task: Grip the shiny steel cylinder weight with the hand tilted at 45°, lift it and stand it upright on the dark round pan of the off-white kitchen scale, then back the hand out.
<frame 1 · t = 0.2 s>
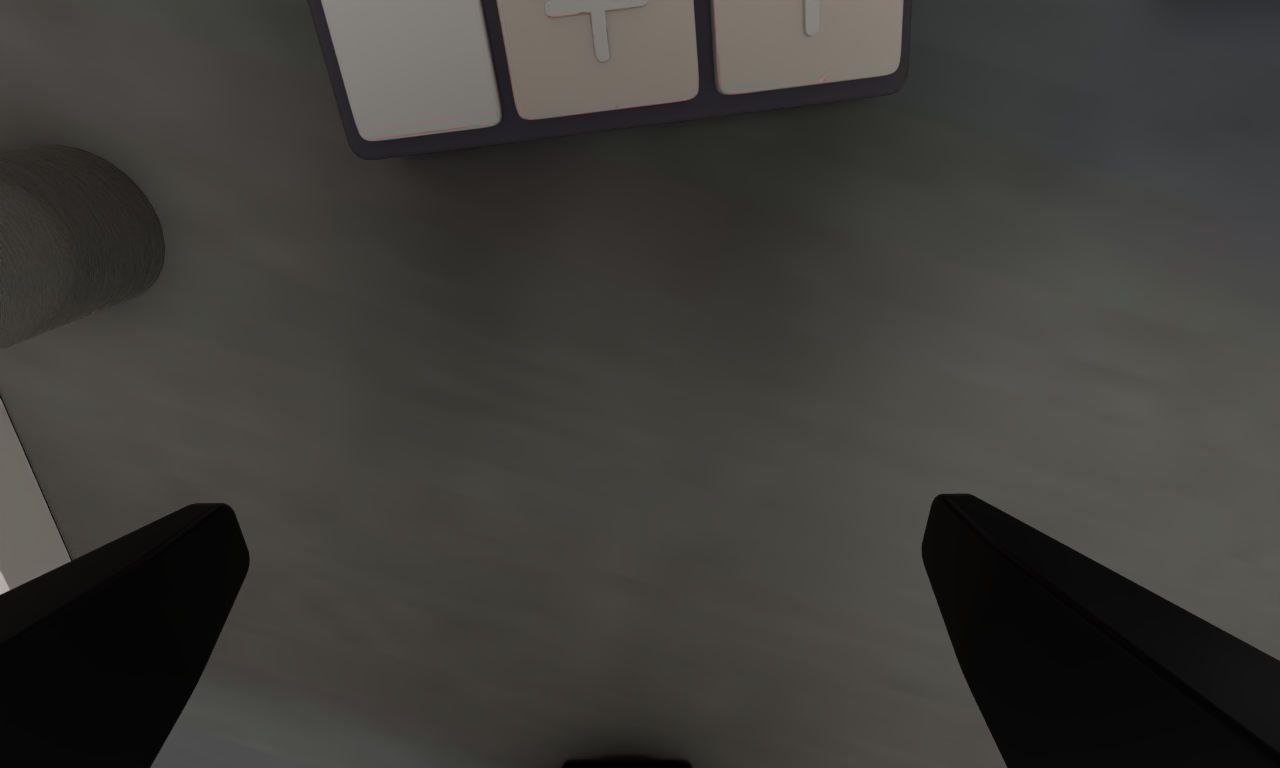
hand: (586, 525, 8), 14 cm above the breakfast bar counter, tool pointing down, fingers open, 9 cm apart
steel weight: (83, 227, 21), on the breakfast bar counter
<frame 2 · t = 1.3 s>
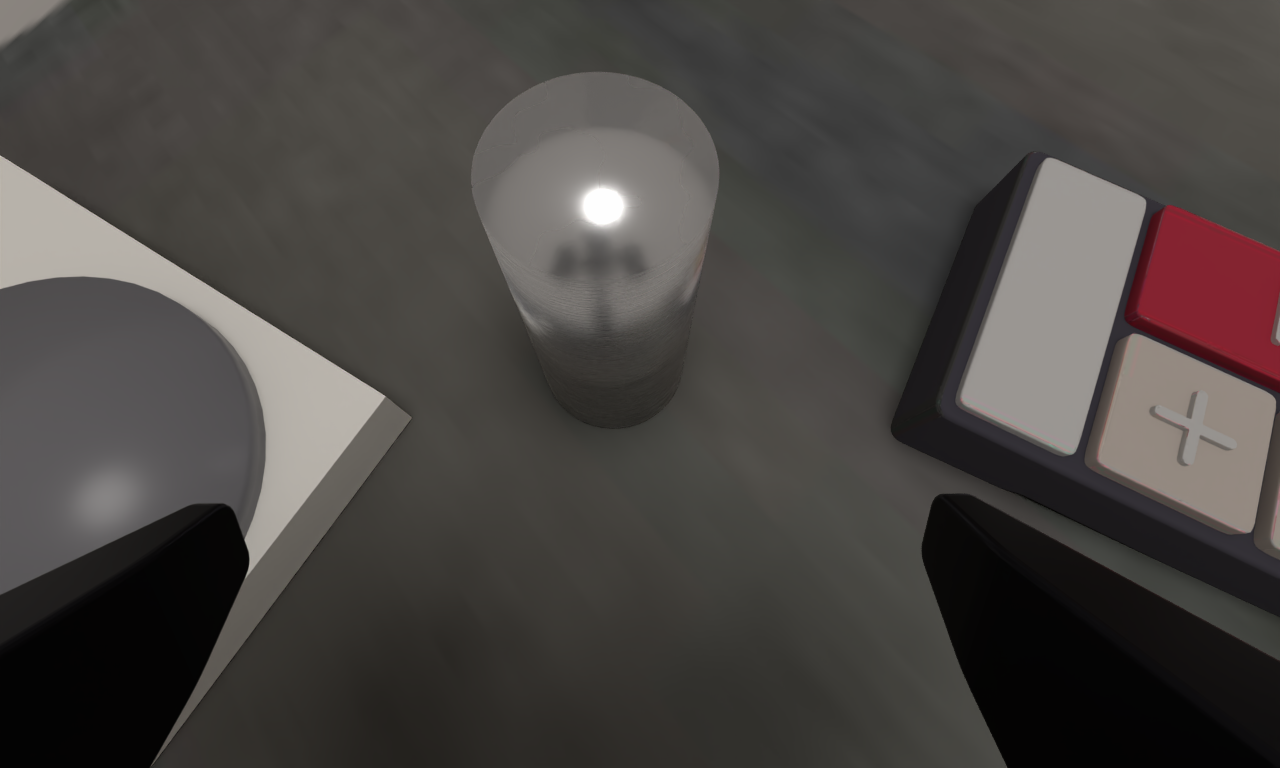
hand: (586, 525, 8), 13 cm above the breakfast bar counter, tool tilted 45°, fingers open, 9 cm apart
calculator: (1123, 400, 24), on the breakfast bar counter
kitchen scale: (111, 496, 22), on the breakfast bar counter
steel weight: (614, 362, 23), on the breakfast bar counter
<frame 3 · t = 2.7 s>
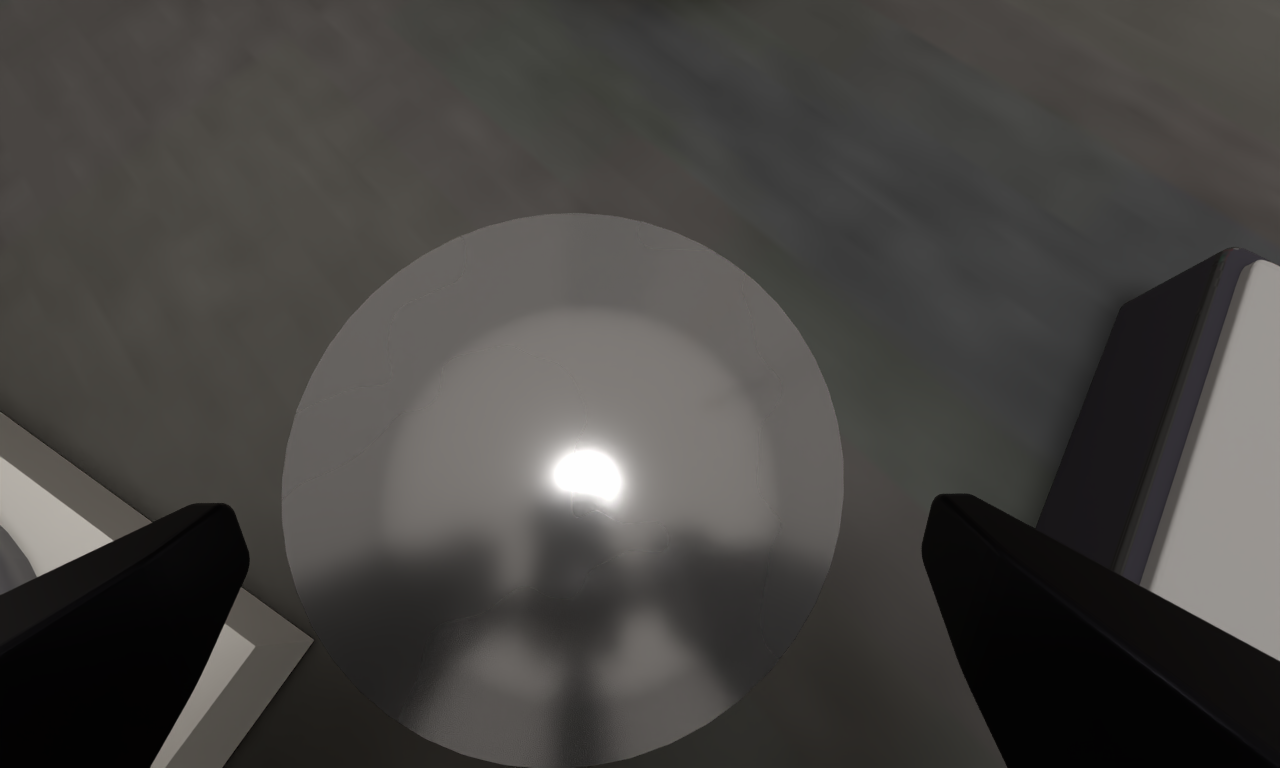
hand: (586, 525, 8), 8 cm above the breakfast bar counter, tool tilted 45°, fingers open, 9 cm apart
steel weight: (610, 550, 16), on the breakfast bar counter
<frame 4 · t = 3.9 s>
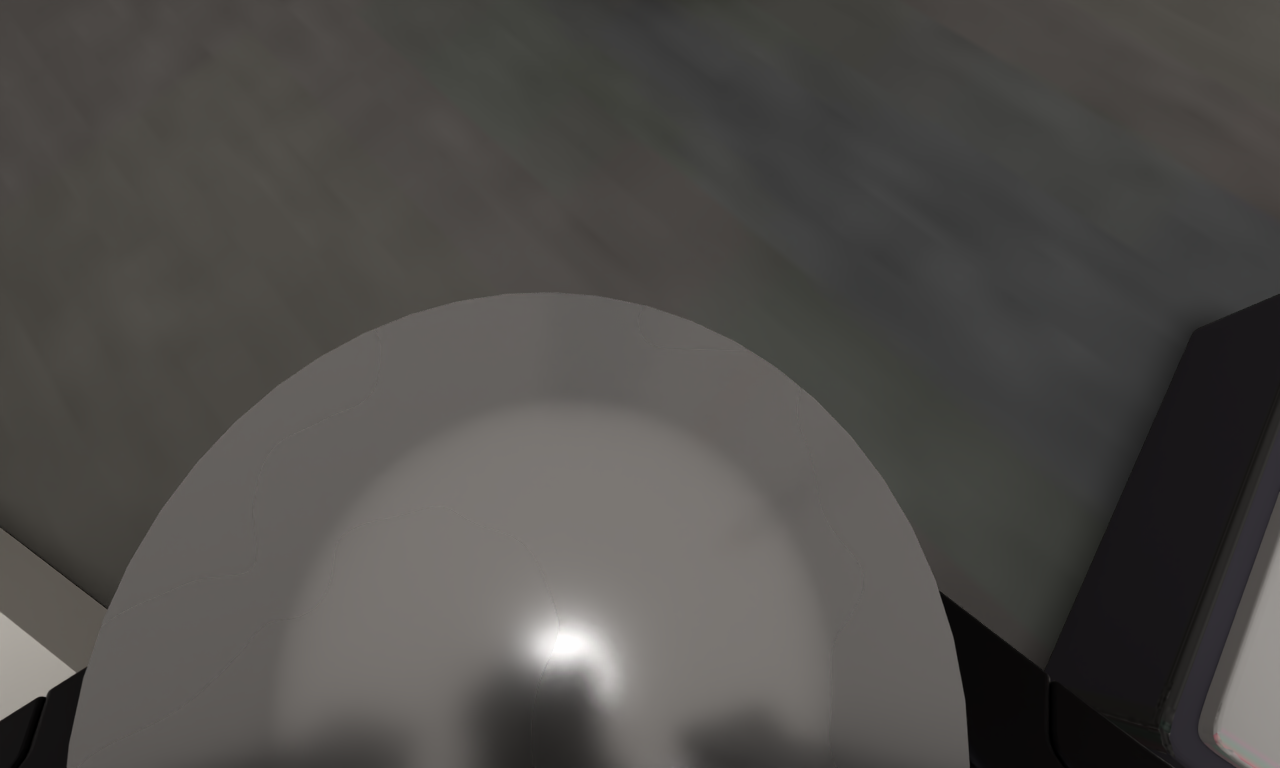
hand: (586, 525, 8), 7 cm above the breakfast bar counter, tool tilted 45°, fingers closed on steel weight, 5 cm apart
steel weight: (607, 622, 14), on the breakfast bar counter, touching gripper
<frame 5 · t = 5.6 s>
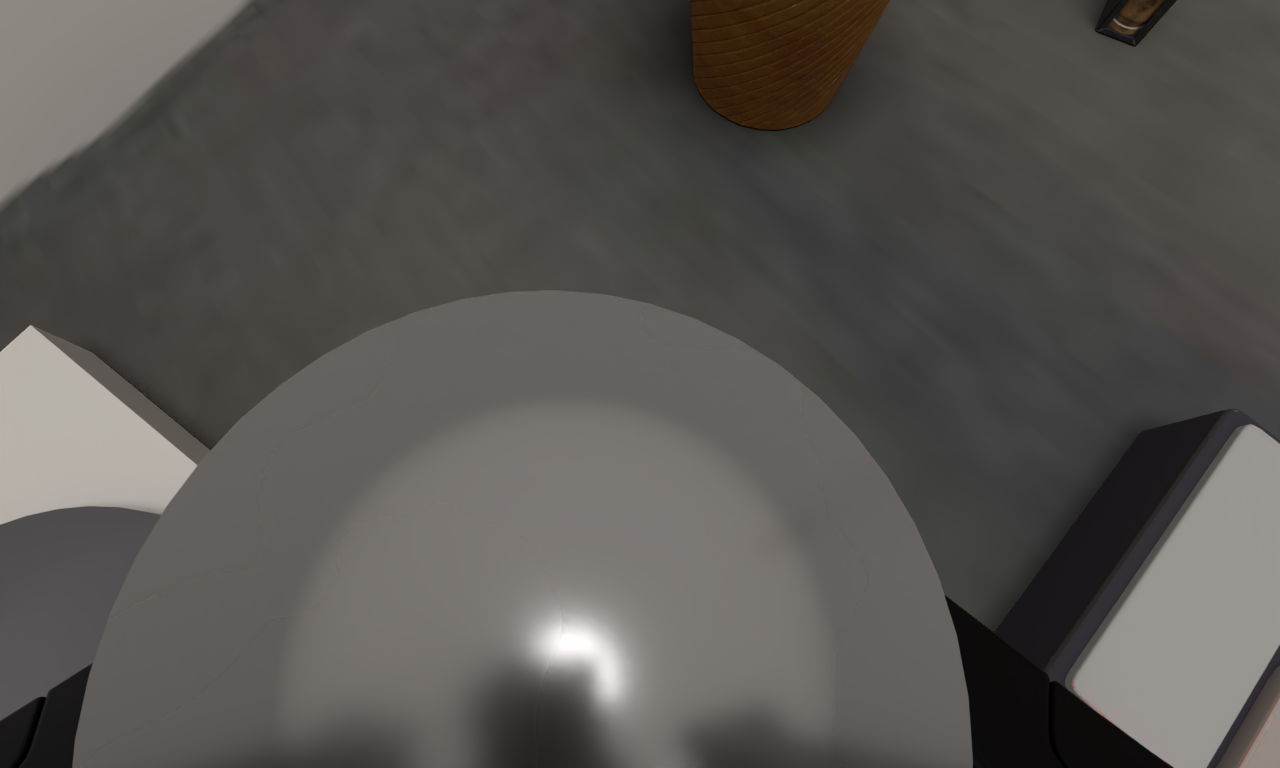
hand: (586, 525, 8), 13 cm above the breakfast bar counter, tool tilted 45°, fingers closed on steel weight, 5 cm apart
calculator: (1255, 708, 20), on the breakfast bar counter
kitchen scale: (131, 737, 19), on the breakfast bar counter
disposable coffee cup: (764, 75, 28), on the breakfast bar counter
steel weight: (608, 622, 14), point 7 cm above the breakfast bar counter, touching gripper
when the fingers open (11 cm above the breakfast bar counter, at t = 7.5 s): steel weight drops 1 cm, resting on kitchen scale.
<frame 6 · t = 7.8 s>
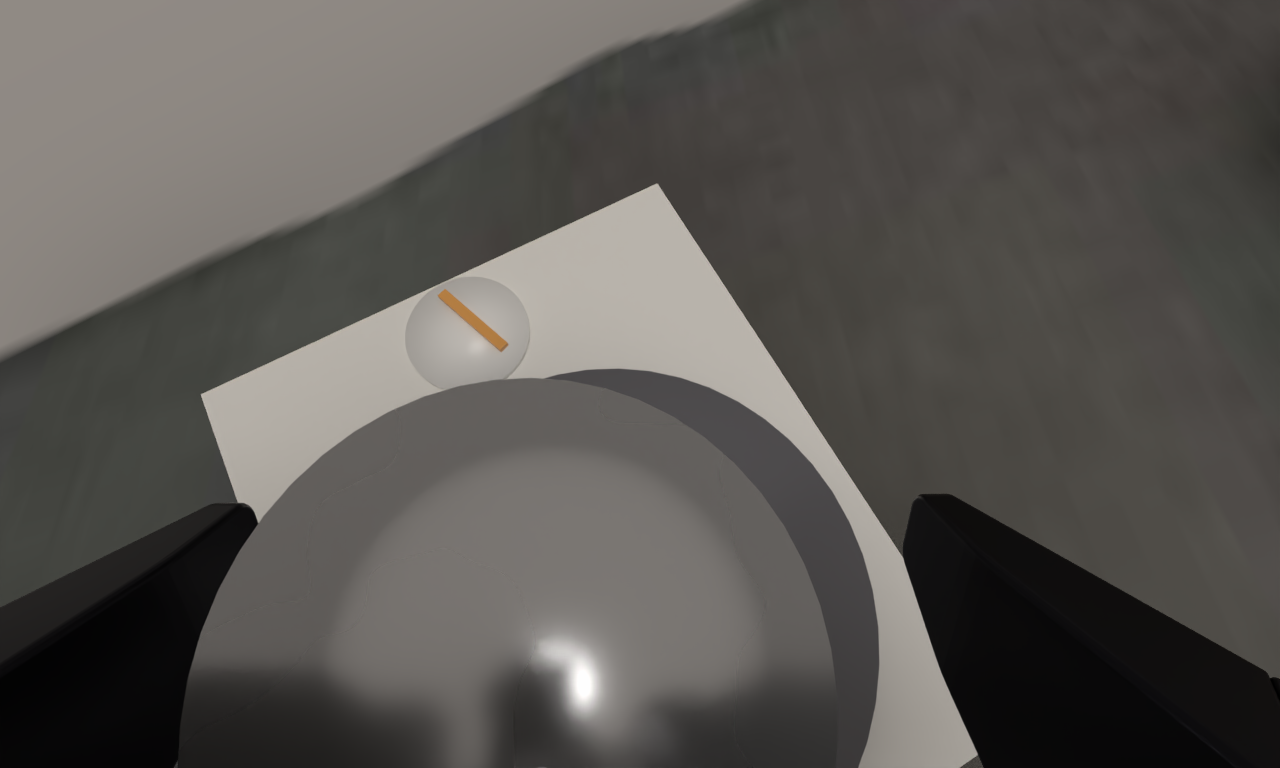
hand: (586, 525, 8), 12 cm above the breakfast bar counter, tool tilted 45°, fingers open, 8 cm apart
kitchen scale: (614, 616, 19), on the breakfast bar counter
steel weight: (608, 624, 15), point 4 cm above the breakfast bar counter, touching kitchen scale
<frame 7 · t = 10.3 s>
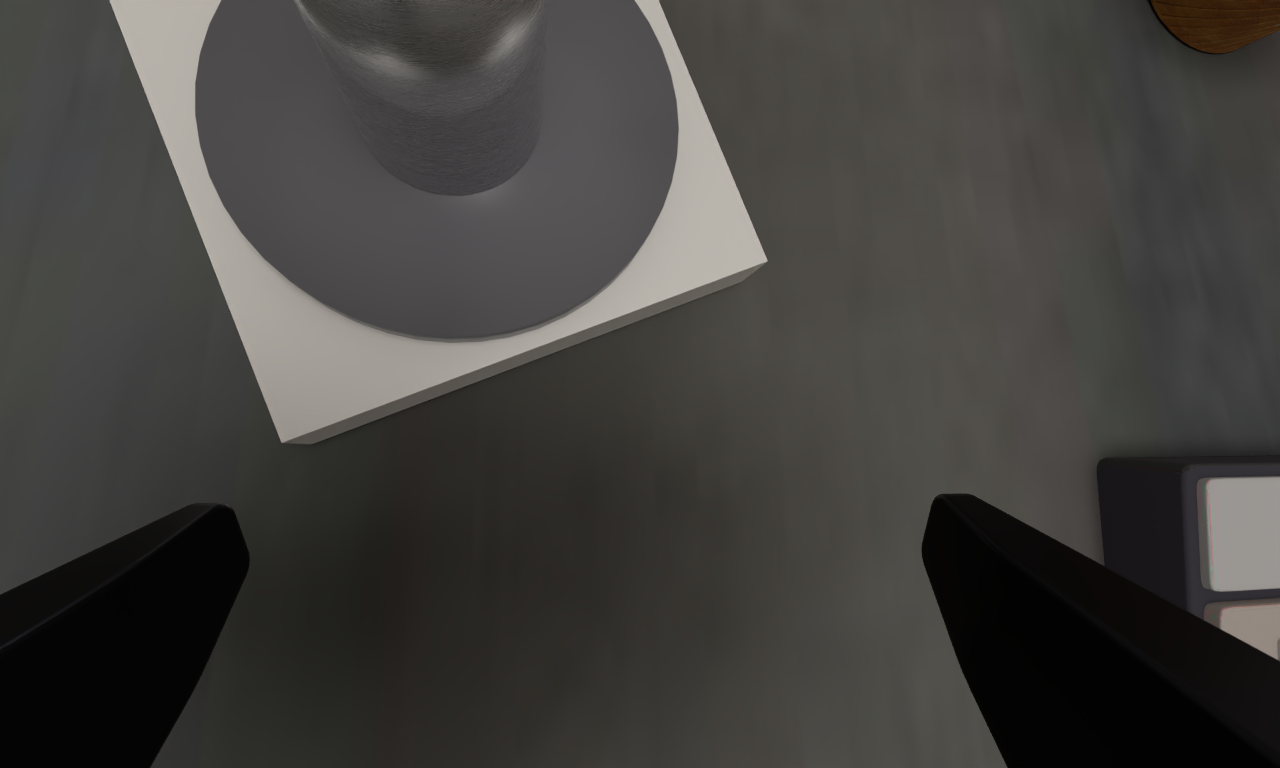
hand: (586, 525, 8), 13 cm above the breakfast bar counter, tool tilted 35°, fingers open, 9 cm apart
calculator: (1216, 647, 25), on the breakfast bar counter
kitchen scale: (464, 163, 21), on the breakfast bar counter
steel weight: (451, 109, 18), point 4 cm above the breakfast bar counter, touching kitchen scale
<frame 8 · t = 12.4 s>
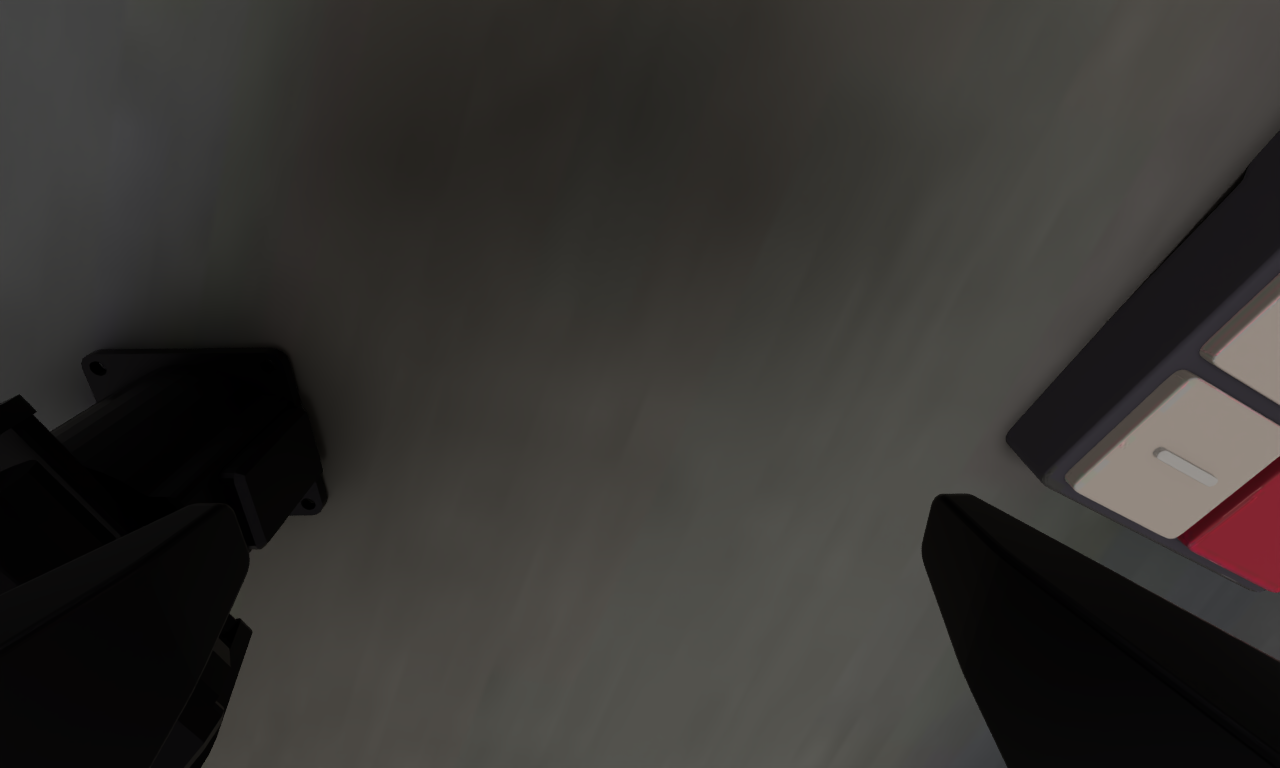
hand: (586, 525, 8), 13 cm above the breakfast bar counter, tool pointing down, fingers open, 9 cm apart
calculator: (1259, 330, 22), on the breakfast bar counter
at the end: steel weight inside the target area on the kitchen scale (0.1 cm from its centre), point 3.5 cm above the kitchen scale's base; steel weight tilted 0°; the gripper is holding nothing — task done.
